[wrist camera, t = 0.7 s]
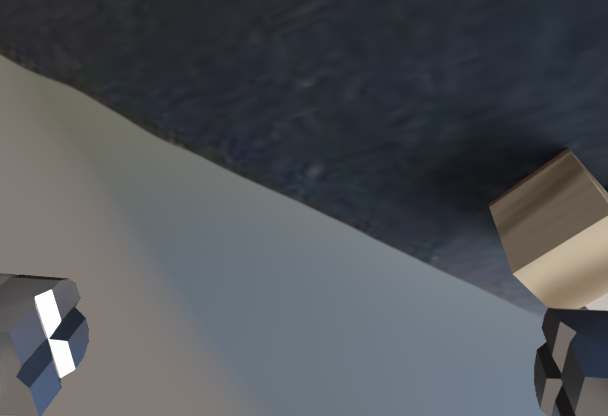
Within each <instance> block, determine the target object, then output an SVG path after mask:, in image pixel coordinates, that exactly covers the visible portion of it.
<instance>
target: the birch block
mask: <svg viewBox="0 0 608 416" xmlns="http://www.w3.org/2000/svg"><path fill="white" fill-rule="evenodd" d="M488 205H489V208H490V211H491V214H492V216H493V219H494V222H495V225H496V228H497V231H498V234H499V237H500V239H501V242H502V245H503V248H504V251H505V254H506V257H507V259H508V262H509V265H510V268H511V271H512V274H513V275H514V276H515V277H516V278H517V279H518V280H519V281H520V282H522V283H523V284H524V285H525V286H526V287H527V288H528V289H529V290H530V291H531V292H532V293H533V294H534V295H535V296H536V297H537V298H538V299H539V300H540V301H541V302H542V303H543V304H545V305H546V306H547V307H548V308H568V309H579V308H581V307H583V306H585V305H587V304H589V303H590V302H592V301H594V300H596V299H598V298H600V297H602V296H603V295H605V294H607V293H608V192H607V191H606V190H605V189H604V188H603V186H602V185H601V184H600V183H599V182H598V181H597V180H596V179H595V177H594V176H593V175H592V174H591V173H590V172H589V171H588V169H587V168H586V167H585V166H584V165H583V164H582V163H581V162H580V160H579V159H578V158H577V157H576V156H575V155H574V154H573V153H572V151H571V150H570V149H569V148H567V149H566V150H565V151H563V152H562V153H560V154H559V155H557V156H556V157H555V158H553V159H552V160H550V161H549V162H547V163H546V164H544V165H543V166H542V167H540V168H539V169H537V170H536V171H534V172H533V173H532V174H530V175H529V176H527V177H526V178H524V179H523V180H522V181H520V182H519V183H517V184H516V185H514V186H513V187H512V188H510V189H509V190H507V191H506V192H504V193H503V194H502V195H500V196H499V197H497V198H496V199H494V200H493V201H492V202H490V203H489V204H488Z"/></svg>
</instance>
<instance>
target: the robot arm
mask: <svg viewBox="0 0 608 416" xmlns="http://www.w3.org/2000/svg"><path fill="white" fill-rule="evenodd" d="M79 300H80V296H79V292H78V289H77V286H76V283H74V282H73V281H71V280H70V279H68V278H55V277H43V276H31V275H15V274H2V273H1V274H0V415H8V416H41V415H42V414H43V412H44V411H45V410H46V408H47V407H48V406H49V405H50V403H51V402H52V400H53V399H54V398H55V396H56V395H57V394H58V392H59V391H60V390H61V388H62V387H61V377H63V376H64V375H66V374H68V373H70V372H72V371H73V370H75V369H76V368H77V366H78V365H79V363H80V362H81V360H82V359H83V358H84V355H85V352H86V348H87V345H88V342H89V332H88V331H89V329H88V325H87V321H86V318H85V317H84V316H83V315H82V314H81V313H80V312H79V311H78V310H77V309H76V308H75V307H76V305H77V303H78V302H79ZM542 330H543V333H544V336H545V338H546V341H547V342H546V343H545V344H543V346H541V347H540V348H539V349H537V353H536V358H535V364H534V385H535V391H536V396H537V400H538V403H539V407H540V409H541V410H542V411H543V412H544V413H545V414H547V415H548V416H608V311H607V310H587V309H568V308H548V309H547V311H546V313H545V315H544V319H543V325H542Z"/></svg>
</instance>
